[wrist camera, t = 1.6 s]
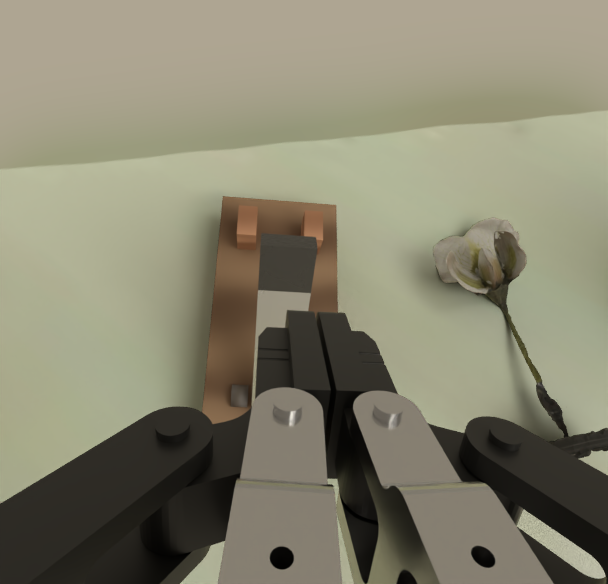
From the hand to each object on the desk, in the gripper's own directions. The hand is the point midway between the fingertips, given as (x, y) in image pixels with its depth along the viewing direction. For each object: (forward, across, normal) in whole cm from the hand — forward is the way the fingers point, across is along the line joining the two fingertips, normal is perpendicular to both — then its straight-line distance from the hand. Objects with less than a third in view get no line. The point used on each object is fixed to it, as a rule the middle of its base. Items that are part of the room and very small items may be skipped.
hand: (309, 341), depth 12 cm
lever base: (+24, 0, +12) cm, 27 cm away
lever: (+15, 0, +8) cm, 17 cm away
